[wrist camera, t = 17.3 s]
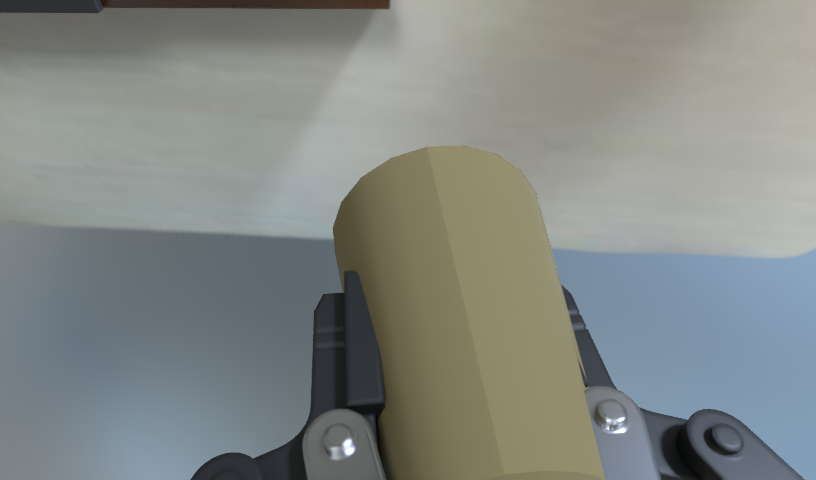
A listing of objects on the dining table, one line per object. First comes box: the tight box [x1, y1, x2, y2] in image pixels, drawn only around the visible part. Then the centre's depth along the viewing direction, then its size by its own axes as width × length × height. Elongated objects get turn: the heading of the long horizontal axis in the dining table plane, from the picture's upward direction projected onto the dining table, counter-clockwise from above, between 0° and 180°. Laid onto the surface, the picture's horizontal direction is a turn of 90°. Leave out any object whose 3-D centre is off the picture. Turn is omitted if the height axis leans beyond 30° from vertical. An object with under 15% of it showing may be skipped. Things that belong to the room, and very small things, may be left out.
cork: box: [333, 146, 605, 480], centre depth 11 cm, size 6×6×11 cm
